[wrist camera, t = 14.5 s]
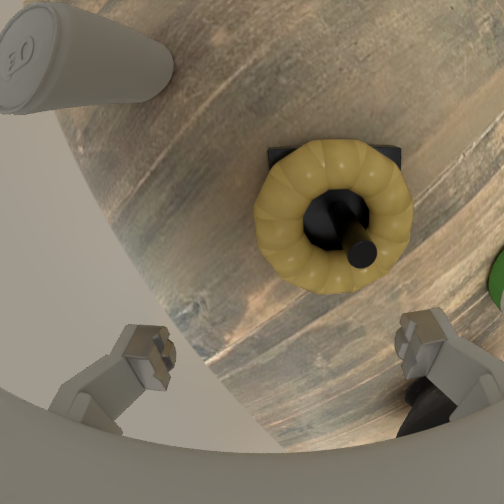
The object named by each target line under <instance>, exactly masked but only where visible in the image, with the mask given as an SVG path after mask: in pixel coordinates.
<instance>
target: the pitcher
mask: <svg viewBox="0 0 504 504" xmlns="http://www.w3.org/2000/svg"><path fill="white" fill-rule="evenodd" d="M405 401H406V402H407V403H408V404H409V405H410V406H412V409H411V410H410V412H409V414H408V415H407V417H406V419H405V420H404V422H403V424H402V426H401V427H400V429H399V431H398V433H397V436H396V438H398V437H402V436H406V435H410V434H414V433H417V432H421V431H424V430H428V429H431V428H434V427H437V426H440V425H443V424H446V423H449V422H450V420H449V418H450V416H451V414H452V413H453V412H454V410H455V409H456V408H457V407H458V406H457V405H456V404H455V403H454V402H453V401H452V400H451V399H450V398H449V397H448V396H446V395H445V394H444V393H443V392H442V391H441V390H440V389H439V388H438V387H437V386H436V385H435V384H433V383H432V382H431V381H430V380H429V379H428V378H427V376H424V377H420V378H418V379H417V380H416V381H415V382H414V383H413V384H412V385H411V386H410V388H409V389H408V391H407V393H406V396H405Z"/></svg>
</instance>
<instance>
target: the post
mask: <svg viewBox="0 0 504 504" xmlns="http://www.w3.org/2000/svg"><path fill="white" fill-rule="evenodd" d="M302 146H303V145H302ZM369 146H370V147H372V148H374V149H375V150H377V151H378V152H380V153H382V154H383V155H385V156H386V157H388V158H389V159H391V160H392V161H393V162H394V163H395V164H396V165H397V166H398V168H399V170H400V171H401V148H399V147H397V146H392V145H369ZM300 147H301V146H283V147H269V148H268V160H269V170H271V168H272V167H273V166H274V165H275V164H276V163H277V162H278V161H280V160H281V159H283V158H284V157H286V156H287V155H289V154H290V153H292V152H294V151H295V150H297V149H298V148H300ZM368 226H369V208H368V207H367V205H366V203H365V201H364V199H363V197H361V196H360V195H358V194H356V193H354V192H353V191H351V190H349V189H335V190H328V191H326V192H324V193H323V194H321V195H320V196H318V197H316V198H315V199H313V200H312V201H311V203H310V205H309V206H308V208H307V210H306V212H305V214H304V216H303V232H304V233H305V235H306V236H307V238H308V239H309V241H310V242H311V244H313V245H315V246H317V247H319V248H321V249H323V250H326V251H330V250H344V252H345V255H346V257H347V259H348V262H349V263H350V265H351V266H353V267H355V268H358V269H363V268H366V267H369V266H370V265H372V264H373V263H374V261H375V260H376V257H377V247H376V246H375V244H374V242H373V241H372V239H371V238H370V236H369V235H368V233H367V232H366V229H367V227H368Z"/></svg>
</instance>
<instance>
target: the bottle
mask: <svg viewBox="0 0 504 504" xmlns="http://www.w3.org/2000/svg"><path fill="white" fill-rule="evenodd" d="M488 285H489V293H490V295H491V298H492V300H493V301H494V303H495V304H496V305H497V307H498V308H499V309H500V311H501V312H502V313H503V315H504V250H503V251H502V252H501V253H500V255H499V256H498V258H497V259H496V261H495V263H494V265H493V267H492V270H491V273H490V276H489V283H488Z"/></svg>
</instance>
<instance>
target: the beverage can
mask: <svg viewBox="0 0 504 504" xmlns="http://www.w3.org/2000/svg"><path fill="white" fill-rule="evenodd" d="M173 65H174V62H173V58H172V54H171V53H170V51H169V50H168V48H166V47H165V46H164V45H162V44H161V43H159V42H157V41H155V40H153V39H151V38H149V37H147V36H145V35H143V34H141V33H139V32H137V31H135V30H133V29H131V28H128V27H126V26H124V25H122V24H119V23H117V22H115V21H112V20H110V19H107V18H105V17H102V16H99V15H97V14H94V13H91V12H88V11H85V10H82V9H79V8H76V7H73V6H70V5H67V4H63V3H58V2H48V3H46V2H36V3H33V4H30V5H27V6H26V7H24V8H23V9H21V10H20V11H19V12H18V13H17V14H16V15H15V16H14V17H13V18H12V19H11V20H10V21H9V22H8V23H7V25H6V26H5V28H4V29H3V30H2V32H1V34H0V113H2V114H14V115H25V114H31V113H36V112H42V111H48V110H55V109H62V108H70V107H79V106H90V105H102V104H120V103H140V102H145V101H147V100H149V99H151V98H153V97H155V96H156V95H157V94H158V93H160V92H161V91H162V90H163V89H164V88H165V87H166V86H167V84H168V82H169V81H170V79H171V76H172V73H173Z"/></svg>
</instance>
